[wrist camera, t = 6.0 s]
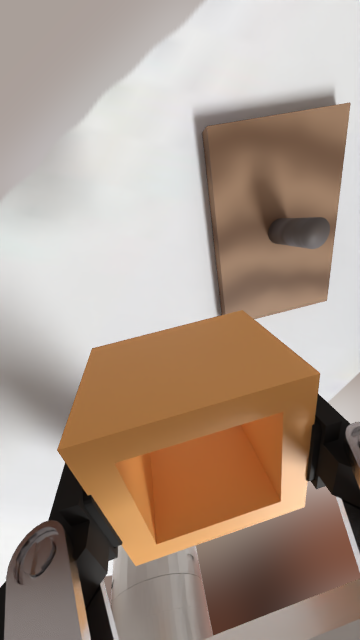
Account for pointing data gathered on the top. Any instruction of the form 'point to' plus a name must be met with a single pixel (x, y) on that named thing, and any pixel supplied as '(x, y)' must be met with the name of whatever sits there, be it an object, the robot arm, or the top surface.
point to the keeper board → (275, 207)
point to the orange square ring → (192, 433)
